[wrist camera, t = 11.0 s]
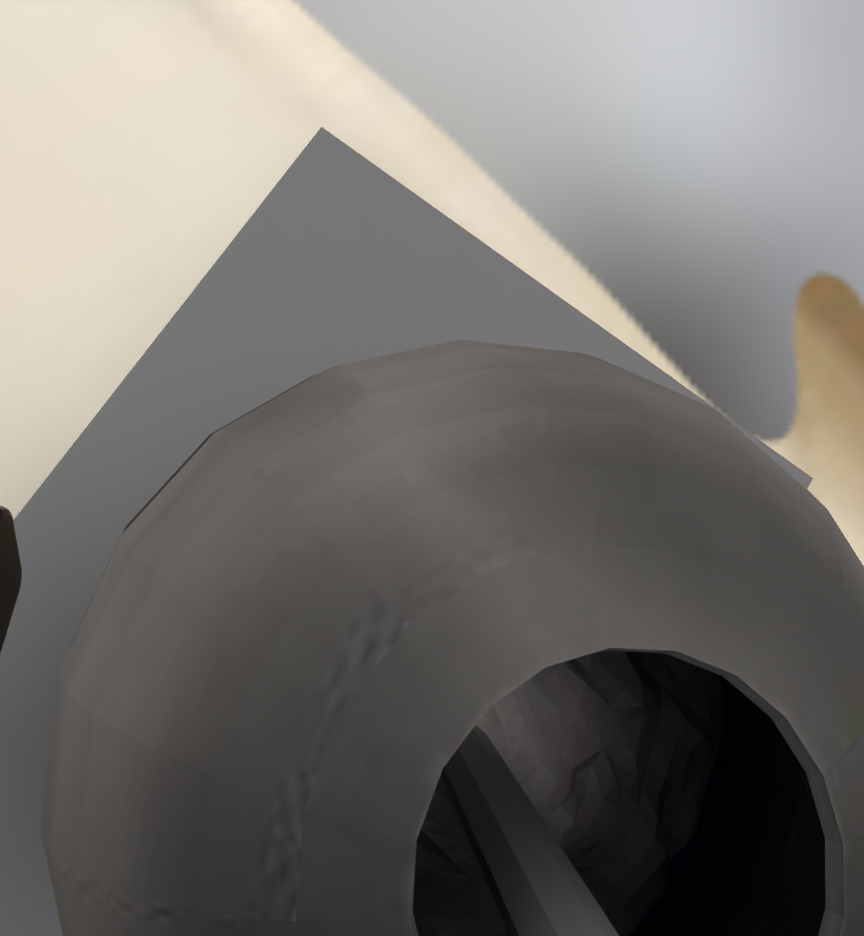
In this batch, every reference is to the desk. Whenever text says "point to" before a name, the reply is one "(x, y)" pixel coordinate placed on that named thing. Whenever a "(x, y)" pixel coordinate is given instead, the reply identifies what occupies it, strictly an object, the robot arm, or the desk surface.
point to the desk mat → (238, 392)
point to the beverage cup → (467, 672)
